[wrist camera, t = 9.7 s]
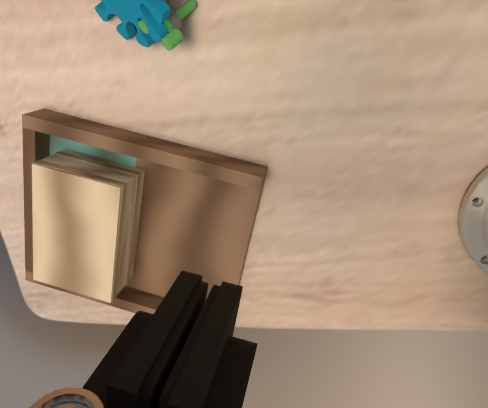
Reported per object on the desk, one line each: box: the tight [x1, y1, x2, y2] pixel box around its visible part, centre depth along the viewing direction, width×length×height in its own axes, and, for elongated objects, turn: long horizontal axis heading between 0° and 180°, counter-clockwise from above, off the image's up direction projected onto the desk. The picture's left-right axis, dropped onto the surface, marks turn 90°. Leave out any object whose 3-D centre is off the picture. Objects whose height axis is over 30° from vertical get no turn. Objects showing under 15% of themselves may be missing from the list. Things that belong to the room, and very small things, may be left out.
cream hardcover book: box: [32, 149, 145, 303], centre depth 39 cm, size 8×12×5 cm
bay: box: [22, 109, 267, 314], centre depth 40 cm, size 22×18×3 cm
